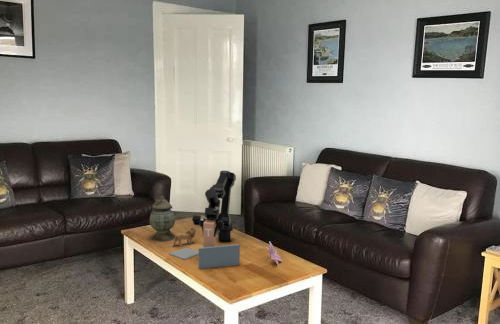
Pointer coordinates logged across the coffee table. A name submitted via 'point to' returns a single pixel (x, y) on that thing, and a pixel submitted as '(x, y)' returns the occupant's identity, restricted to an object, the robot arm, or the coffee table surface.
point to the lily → (273, 253)
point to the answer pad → (184, 253)
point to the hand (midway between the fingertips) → (208, 236)
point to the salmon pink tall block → (209, 233)
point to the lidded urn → (162, 220)
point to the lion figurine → (185, 236)
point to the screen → (219, 256)
